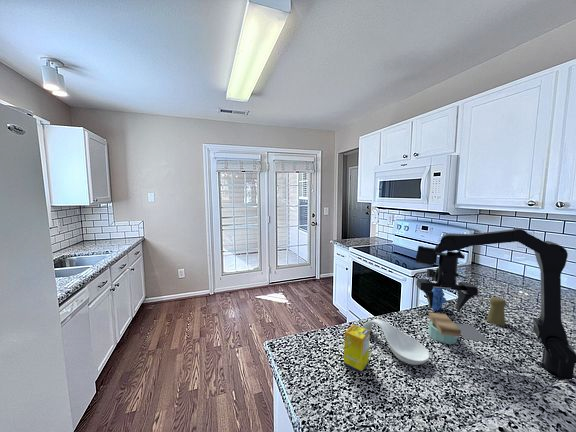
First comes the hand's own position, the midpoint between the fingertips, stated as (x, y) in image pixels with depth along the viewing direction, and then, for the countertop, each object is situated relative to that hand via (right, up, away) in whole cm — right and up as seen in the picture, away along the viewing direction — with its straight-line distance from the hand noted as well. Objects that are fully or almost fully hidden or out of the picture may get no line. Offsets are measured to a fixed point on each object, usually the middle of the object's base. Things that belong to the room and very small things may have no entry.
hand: (444, 309), depth 90 cm
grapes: (+11, -10, +22) cm, 27 cm away
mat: (+12, -11, +5) cm, 17 cm away
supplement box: (-37, -12, -14) cm, 41 cm away
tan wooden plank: (0, -7, +1) cm, 7 cm away
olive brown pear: (+30, -11, +12) cm, 34 cm away
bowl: (0, -11, +1) cm, 11 cm away
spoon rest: (-22, -12, -6) cm, 25 cm away
